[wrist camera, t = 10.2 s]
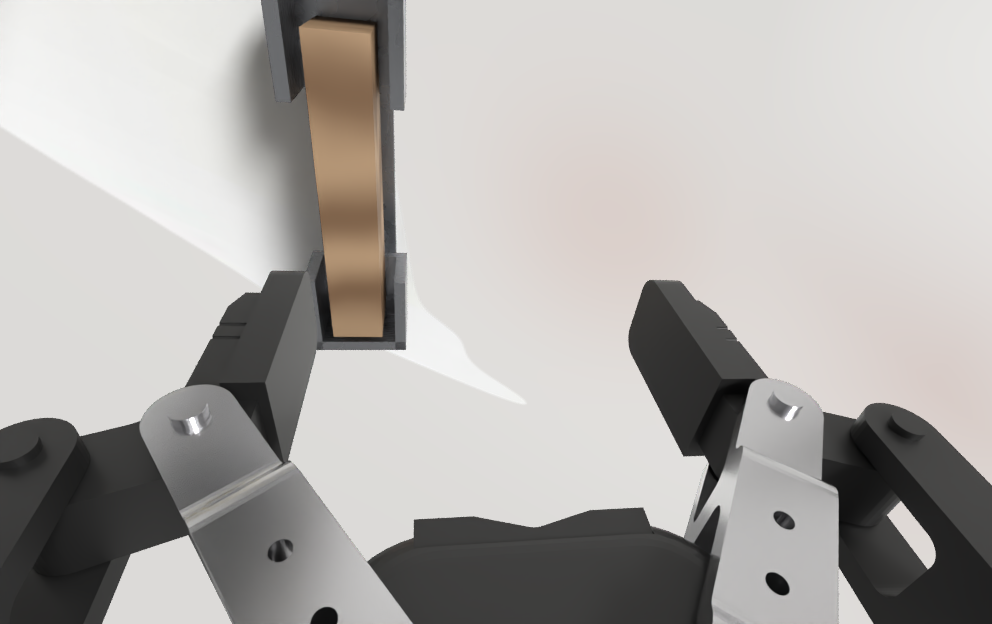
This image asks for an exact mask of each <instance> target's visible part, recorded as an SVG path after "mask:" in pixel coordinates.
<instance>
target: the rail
mask: <svg viewBox="0 0 992 624" xmlns="http://www.w3.org/2000/svg"><path fill="white" fill-rule="evenodd" d="M299 34H300V42H301V51H302V60H303V69H304V78H305V87H306V96H307V105H308V113H309V122H310V131H311V140H312V149H313V158H314V167H315V176H316V184H317V193H318V202H319V211H320V220H321V229H322V238H323V247H324V255H325V264H326V273H327V282H328V291H329V300H330V309H331V318H332V326H333V335H334V337H382V335H383V325H384V315H385V305H386V279H385V248H384V217H383V186H382V155H381V124H380V93H379V62H378V31H377V22H373V21H363V20H353V19H343V18H333V17H323V16H315V17H313V18H312V19H310V20H309V21H307V22H306V23H304V24H303V25H301V26H300V27H299Z"/></svg>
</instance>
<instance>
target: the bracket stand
mask: <svg viewBox="0 0 992 624" xmlns="http://www.w3.org/2000/svg"><path fill="white" fill-rule="evenodd" d="M261 5H262V11H263V18H264V25H265V31H266V38H267V45H268V52H269V58H270V65H271V72H272V78H273V85H274V92H275V99H276V101H277V102H292V101H293V99H294V98H295V97H296V96H297V95H298V93H299V92H300V91H301V90H302V88H303V87H305V78H304V69H303V60H302V51H301V42H300V34H299V27H300V26H301V25H303V24H304V23H306V22H307V21H309V20H310V19H312V18H313V17H315V16H323V17H333V18H343V19H353V20H363V21H373V22H377V31H378V62H379V93H380V124H381V155H382V186H383V217H384V248H385V279H386V305H385V315H384V325H383V335H382V337H334V335H333V326H332V318H331V309H330V300H329V291H328V282H327V273H326V264H325V255H324V251H313V254H312V256H311V259H310V262H309V265H308V268H307V271H306V272H308V274H309V276H310V281H311V288H312V295H313V303H314V310H315V317H316V324H317V348H316V350H406V332H407V253H396V212H395V158H394V110H402V111H403V110H404V107H405V97H406V0H261Z"/></svg>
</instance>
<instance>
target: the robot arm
mask: <svg viewBox="0 0 992 624" xmlns="http://www.w3.org/2000/svg"><path fill="white" fill-rule="evenodd" d="M316 348H317V324H316V317H315V310H314V303H313V295H312V288H311V281H310V276H309V274H308V272H304V271H271V272H270V274H269V276H268V278H267V280H266V283H265V285H264V287H263V289H262V291H261V293H245V294H244V295H242V296H241V297H240V298H238V299H237V300H236V301H235V302H233V303H232V304H231V305H229V306H228V308H227V310H226V312H225V314H224V315H223V317H222V319H221V321H220V326H218V327H217V328H216V330H215V332H214V334H213V339H211V340H210V341H209V343H208V345H207V347H206V349H205V351H204V353H203V355H202V356H201V358H200V360H199V362H198V364H197V366H196V368H195V369H194V372H193V373H192V375H191V377H190V379H189V381H188V382H187V384H186V386H185V387H184V388H181V389H179V390H175V391H173V392H171V393H169V394H167V395H165V396H163V397H162V398H160V399H159V400H157V401H156V402H154V403H153V404H152V405H151V406H150V407H149V408H148V409H147V411H146V412H145V413H144V415H143V417H142V419H141V421H139V422H137V423H133V424H130V425H126V426H122V427H118V428H114V429H109V430H106V431H102V432H97V433H93V434H89V435H85V436H79V434H78V432H77V431H76V429H75V427H74V426H73V425H72V424H70V423H69V422H67V421H64V420H61V419H56V418H40V419H33V420H28V421H23V422H20V423H17V424H14V425H11V426H8V427H6V428H3V429H1V430H0V624H102V622H103V619H104V617H105V615H106V613H107V610H108V608H109V605H110V603H111V600H112V598H113V595H114V593H115V590H116V588H117V586H118V583H119V581H120V578H121V576H122V573H123V571H124V569H125V566H126V564H127V562H128V559H129V557H130V554H132V553H135V552H138V551H141V550H144V549H147V548H150V547H153V546H156V545H159V544H162V543H165V542H168V541H171V540H174V539H177V538H180V537H183V536H187V535H189V537H190V539H191V541H192V543H193V545H194V547H195V549H196V551H197V553H198V555H199V557H200V559H201V561H202V563H203V566H204V567H205V570H206V571H207V574H208V575H209V578H210V580H211V582H212V583H213V586H214V588H215V590H216V592H217V594H218V596H219V598H220V599H221V602H222V604H223V606H224V608H225V609H226V612H227V614H228V616H229V618H230V620H231V622H232V624H838V566H839V568H840V570H841V571H842V573H843V575H844V576H845V578H846V579H847V581H848V583H849V584H850V586H851V588H852V589H853V591H854V592H855V594H856V596H857V597H858V599H859V601H860V602H861V604H862V605H863V607H864V609H865V610H866V612H867V614H868V615H869V617H870V619H871V620H872V622H873V623H874V624H992V485H991V484H990V483H989V482H988V481H987V480H986V479H985V478H984V477H983V476H982V475H981V474H980V473H979V472H978V471H977V470H976V469H975V468H974V467H973V466H972V465H971V464H970V463H969V462H968V461H967V460H966V459H965V458H964V457H963V456H962V455H961V454H960V453H959V452H958V451H957V450H956V449H955V448H954V447H953V446H952V445H951V444H950V443H949V442H948V441H947V440H946V439H945V438H944V437H943V436H942V435H941V434H940V433H939V432H938V431H937V430H936V429H935V428H934V427H933V426H932V425H930V424H929V423H928V422H927V421H925V420H924V419H922V418H921V417H919V416H917V415H915V414H914V413H912V412H910V411H907V410H906V409H903V408H900V407H898V406H894V405H890V404H885V403H874V404H870V405H868V406H867V407H866V408H865V410H864V411H863V412H862V413H861V415H860V416H859V417H858V419H852V418H848V417H843V416H839V415H835V414H830V413H826V412H822V409H821V408H820V406H819V405H818V403H817V402H816V401H815V400H814V399H813V398H812V397H811V396H810V395H808V394H807V393H806V392H804V391H803V390H801V389H800V388H798V387H796V386H794V385H792V384H790V383H787V382H784V381H781V380H777V379H770V378H768V377H767V376H766V374H765V373H764V372H763V371H762V369H761V368H760V367H759V366H758V364H757V363H756V362H755V361H754V359H753V358H752V357H751V356H750V355H749V353H748V352H747V351H746V349H745V348H744V347H743V346H742V344H741V343H740V342H739V341H737V338H736V337H735V336H734V335H733V333H732V332H731V331H730V330H728V329H727V326H726V324H725V323H724V322H723V321H722V320H721V318H720V317H719V316H718V315H717V313H716V312H714V311H713V310H711V309H710V308H709V307H707V306H706V305H704V304H703V303H701V302H700V301H696V300H695V299H694V298H693V296H692V295H691V294H690V292H689V291H688V290H687V288H686V287H685V286H684V284H682V282H680V281H672V280H671V281H669V280H649V281H647V282H646V284H645V285H644V287H643V290H642V293H641V296H640V299H639V302H638V305H637V308H636V311H635V315H634V318H633V320H632V324H631V327H630V330H629V348H630V352H631V355H632V356H633V359H634V360H635V362H636V364H637V366H638V368H639V370H640V372H641V374H642V376H643V378H644V380H645V382H646V384H647V386H648V388H649V390H650V392H651V394H652V396H653V398H654V400H655V402H656V403H657V405H658V407H659V409H660V411H661V413H662V415H663V417H664V419H665V421H666V423H667V425H668V427H669V429H670V431H671V433H672V435H673V437H674V438H675V441H676V443H677V444H678V446H679V448H680V450H681V452H682V454H683V456H705V457H706V459H707V460H708V463H707V465H706V467H705V469H704V471H703V473H702V477H701V480H700V484H699V487H698V491H697V494H696V498H695V501H694V505H693V509H692V512H691V515H690V519H689V522H688V526H687V529H686V533H685V535H684V538H683V537H680V536H678V535H676V534H673V533H671V532H669V531H666V530H663V529H659V528H656V527H652V526H650V524H649V521H648V519H647V516H646V514H645V511H644V509H643V508H626V509H625V508H624V509H607V510H590V511H587V512H584V513H580V514H577V515H574V516H571V517H568V518H565V519H562V520H560V521H556V522H553V523H550V524H547V525H544V526H541V527H535V528H533V527H526V526H521V525H515V524H510V523H505V522H499V521H494V520H489V519H483V518H479V517H456V518H437V519H418V520H414V538H412V539H409V540H406V541H404V542H401V543H398V544H396V545H394V546H392V547H390V548H387V549H386V550H384V551H382V552H381V553H379V554H377V555H376V556H374V557H372V558H371V559H370V560H369V561H366V560H365V558H364V557H363V556H362V554H361V553H360V552H359V550H358V549H357V548H356V546H355V545H354V544H353V542H352V541H351V539H350V538H349V537H348V535H347V534H346V533H345V531H344V530H343V529H342V527H341V526H340V524H339V523H338V522H337V521H336V519H335V518H334V516H333V515H332V514H331V512H330V511H329V510H328V509H327V507H326V506H325V504H324V503H323V501H322V500H321V499H320V497H319V496H318V495H317V493H316V492H315V491H314V489H313V488H312V487H311V485H310V484H309V482H308V481H307V480H306V478H305V477H304V476H303V474H302V473H301V472H300V470H299V469H298V468H297V467H296V466H295V464H293V463H292V462H291V461H288V458H289V454H290V450H291V446H292V442H293V439H294V435H295V431H296V427H297V423H298V419H299V415H300V412H301V408H302V404H303V400H304V396H305V392H306V389H307V385H308V381H309V377H310V373H311V369H312V365H313V362H314V358H315V354H316ZM900 501H902V502H903V503H904V505H905V506H906V507H907V509H908V510H909V511H910V512H911V514H912V515H913V516H914V517H915V519H916V520H917V521H918V522H919V523H920V525H921V526H922V527H923V529H924V530H925V531H926V532H927V533H928V535H929V536H930V538H931V540H932V542H933V544H934V547H935V551H936V559H935V562H934V564H933V566H932V567H931V568H929V569H927V568H926V567H925V565H924V564H923V563H922V561H921V560H920V559H919V557H918V556H917V555H916V553H915V552H914V551H913V549H912V548H911V547H910V546H909V544H908V543H907V541H906V540H905V539H904V538H903V536H902V535H901V534H900V532H899V531H898V530H897V528H896V527H895V526H894V525H893V523H892V522H891V520H890V519H889V518H888V516H887V514H888V513H889V512H890V511H891V510H892V509H893V508H894V507H895V506H896V505H897V504H898V503H899V502H900Z"/></svg>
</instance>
